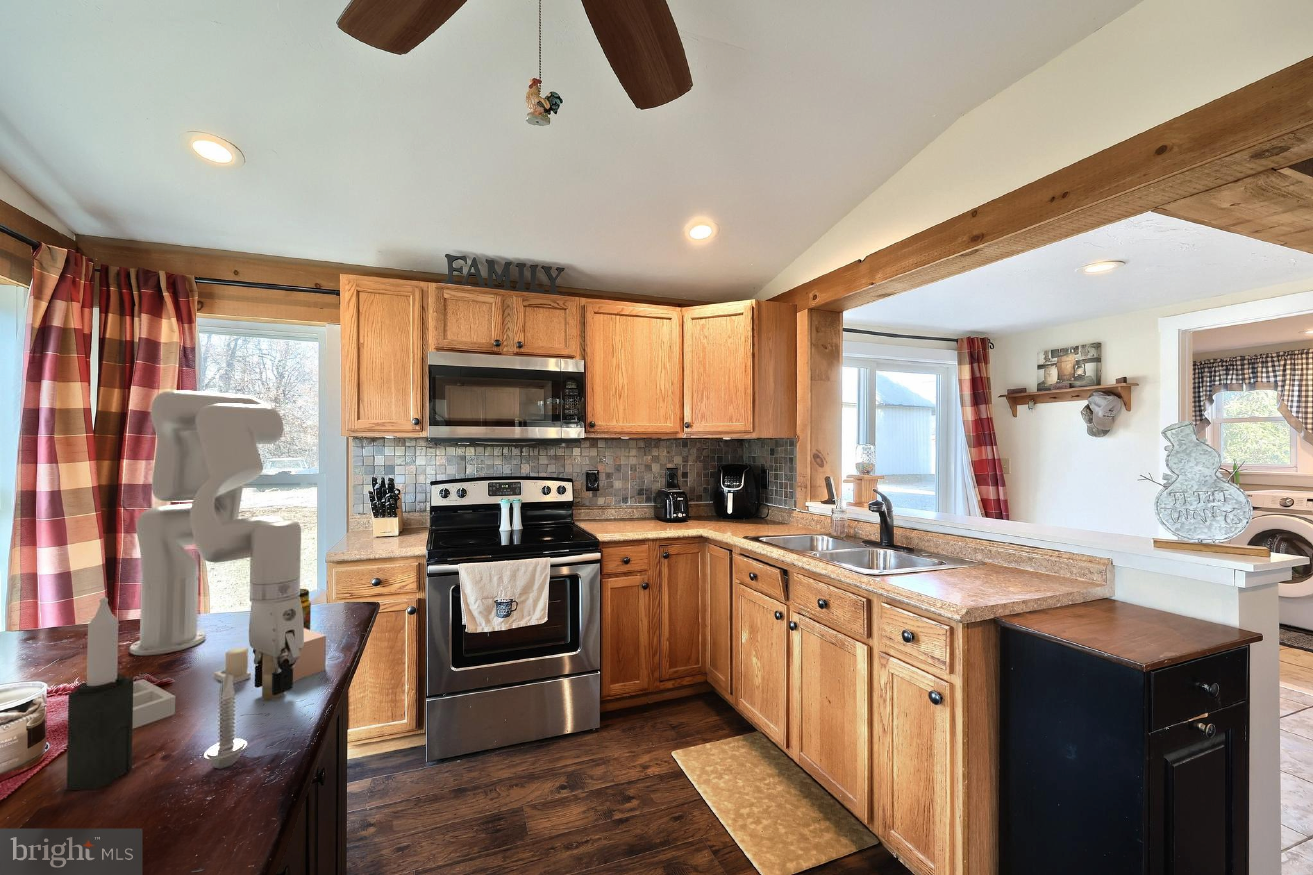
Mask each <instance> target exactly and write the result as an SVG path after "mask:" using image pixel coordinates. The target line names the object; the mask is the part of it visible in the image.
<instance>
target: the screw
mask: <svg viewBox="0 0 1313 875" xmlns="http://www.w3.org/2000/svg"><path fill="white" fill-rule="evenodd" d="M220 687H221V690H220V692H221V693H220V695H219V699H218V702H219V703H218V706H219V707H218V710H219V711H218V714H219V715H218V718H219V719H218V721H217V722H218V725H217V726H219V728H218V729H217V730H219V732H217V734H218V735H219V736H218V737H217V739H219V740H217V743H215V744H214V745H212V746H210V747H209V748H208V749H207V750H206V751H205V752H204V755H203V759H204V760H205V761H208V762H212V767H213V768H216V769H218V770H222V769H224V768H228V767H231V766H232V765H234V764H235V763H236V762H237V761H238V760H239V754H241V753H243V752H244V751H245V749H247V747H248V742H247V741H246V740H244V739H243V738H235V724H236V723H235V720H236V719H235V716H236V714H235V712H236V710H235V707H236V702H235V700H236V698H235V697H236V694H235V691H236V690H235V689H234V684H233V675H230V674H227V675H225V676H224V677H222V681H221V686H220Z"/></svg>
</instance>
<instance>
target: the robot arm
mask: <svg viewBox="0 0 1313 875" xmlns="http://www.w3.org/2000/svg"><path fill="white" fill-rule="evenodd" d="M150 407H151V408H150V416H151V422H152V425H153V428H154V432H155V435H156V438H157V439H156V440H157V441H156V449H155V455H154V456H155V458H154V464H153V472H152V478H151V479H152V480H151V491H152V495H153V496H154V498H156V499H157V500H158V501H162V502H167V503H178V504H169V505H161V506H155V507H152V508H149V509H146V510H145V511H143V512H142V513H140V515H139V516H138V518H137V519H136V522H135V523H136V524H135V531H136V536H137V542H138V546H139V551H140V553H139V554H140V620H139V622H140V625H139V626H140V627H139V628H140V629H139V640H138V641H136V642H134V643H132V644H131V645H130V646H129V653H130V654H132V655H134V656H156V655H163V654H168V653H173V652H177V651H182V650H186V649H189V648H191V647H194V646H196V645H199V644H201V643H202V642H203V641H204V640H206V637H207V634H206V632H205V631H203V630H199V629H198V607H199V605H198V603H199V601H198V598H199V597H198V596H199V594H198V593H199V564H198V561H197V560H196V558H195V557H194V556H193V555H192V554H190V553H189V552H188V551H187V550H186V549H185V547H189V546H194V545H195V547H196V550H197V552H198V554H199V556H200V557H201V558H202V559H203V560H204V561H206V562H209V563H216V564H217V563H219V564H220V563H225V562H232V561H233V562H234V561H237V560H244V559H250V561H249V564H250V565H249V602H251V604H250V605H251V606H250V613H249V623H248V643H249V647H250V648H251V649H252V654H254V658H253V664H254V688H258V689H259V688H262V668H263V653H265V654H268V655H271V656H273V661H274V668H275V672H274V673H272V695H278V694H281V693H283V692H285V693H286V692H288V691H291V690H293V687H294V681H293V668H294V667H295V662H296V660H297V659H298V658H299V657H300V651H299V650H300V649H302V648H303V646H304V625H303V612H302V605H301V600H300V596H299V595H300V589H301V563H302V561H301V557H302V552H301V551H302V528H301V525H300V524H299V522H297V521H294V520H287V519H286V518H284V517H282V516H279V515H266V516H265V515H263V516H255V517H254V516H253V517H244V518H239V513H240V507H241V502H242V496H243V489H244V485H246V484H248V483H250V482H253V481H254V480H256V479H257V478H258V477H259V476H261V474H262V473H263V470H264V464H263V461H262V459H261V456H260V455H261V454H260V452H259V449H258V445H272V444H273V445H274V444H276V443H277V442H279V441H280V440H281V439H282V436H283V434H284V422H283V419H282V416H281V414H280V413H279V412H278V410H277V409H276V408H275V407H273V406H272V405H271V404H268V403H266V402H264V401H263V400H261V399H258V398H256V397H254V396H251V395H246V394H245V395H244V394H236V393H221V392H220V393H219V392H211V391H197V390H195V391H194V390H167V391H162V392H160V393H158V394H157V395H156V396H155V397H154V399H153V400H152V403H151V406H150ZM180 502H183V503H181V504H179V503H180ZM184 502H192V503H184ZM283 649H287V651H286V652H283V653H281V650H283ZM286 655H287V658H286V659H284V660H283V661H282V662H280V657H283V656H286Z"/></svg>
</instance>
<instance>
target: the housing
mask: <svg viewBox="0 0 1313 875" xmlns="http://www.w3.org/2000/svg"><path fill="white" fill-rule="evenodd" d="M326 649H327V635H326V634H324V633H320V632H317V631H314V630H311V629H310V630H308V629H305V628H304V646H303V648H302V649H300V650H299V651H300V657H299V658H298V659H297V660H296V662H295V667H294V668H293V682H296V681H298V680H301V679H305V678H306V677H309V676H313V675H315V674H318V673H320V672H323V671H326V662H327V661H326V660H327V658H326V657H327V656H326V655H327V654H326V653H327V650H326ZM286 651H287V649H286ZM286 658H287V655H286V657H285V659H286Z"/></svg>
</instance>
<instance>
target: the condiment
mask: <svg viewBox="0 0 1313 875" xmlns="http://www.w3.org/2000/svg"><path fill="white" fill-rule="evenodd" d="M299 596H300V600H301V605H302V612H303V625H304V628H305V629H308V630H311V620H312V619H311V612H312V611H311V610H312V608H311V607H312V603H311V601H310V591H309V589H307V588H300V595H299Z"/></svg>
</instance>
